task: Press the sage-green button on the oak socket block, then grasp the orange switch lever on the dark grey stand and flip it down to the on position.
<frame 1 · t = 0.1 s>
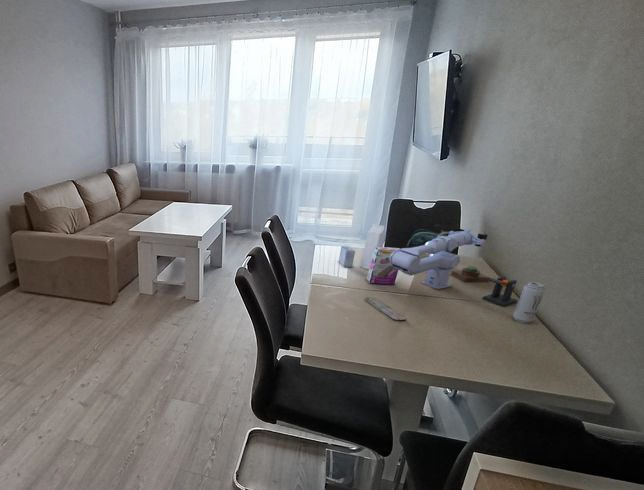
hand: (477, 234, 188), 22 cm above the table, tool horizontal, fingers open, 7 cm apart
energy drink can: (521, 320, 158), on the table
thin flat strip: (383, 309, 164), on the table
milk: (368, 268, 207), on the table
socket button: (471, 269, 195), point 4 cm above the table, slide at 0.1 cm
dark green curved piece: (424, 261, 218), on the table
medicine box: (345, 265, 210), on the table
candy bar box: (380, 283, 189), on the table
socket block: (469, 278, 197), on the table
dark grey stand: (499, 300, 174), on the table
kettle switch: (501, 282, 169), point 9 cm above the table, hinge at 15.0°
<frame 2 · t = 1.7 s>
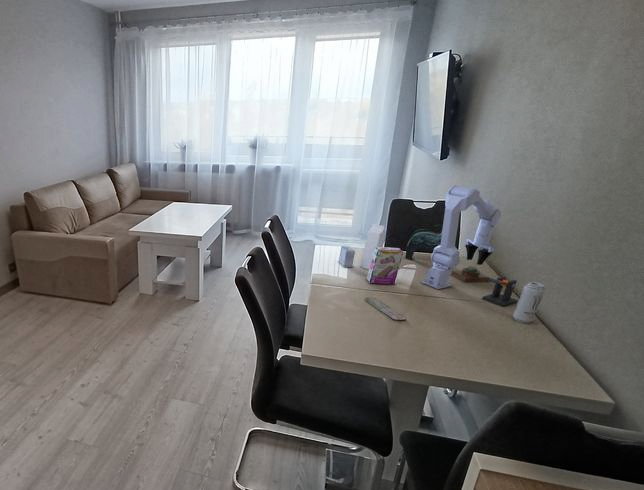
hand: (474, 262, 194), 8 cm above the table, tool pointing down, fingers open, 6 cm apart
nothing on the table moved.
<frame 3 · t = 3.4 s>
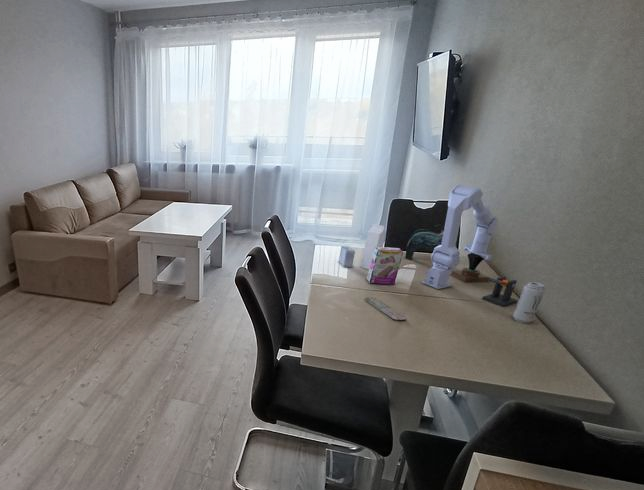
hand: (471, 269, 195), 4 cm above the table, tool pointing down, fingers closed, pressing on socket button
socket button: (471, 271, 196), point 4 cm above the table, slide at -0.7 cm, touching gripper
everything else where it was.
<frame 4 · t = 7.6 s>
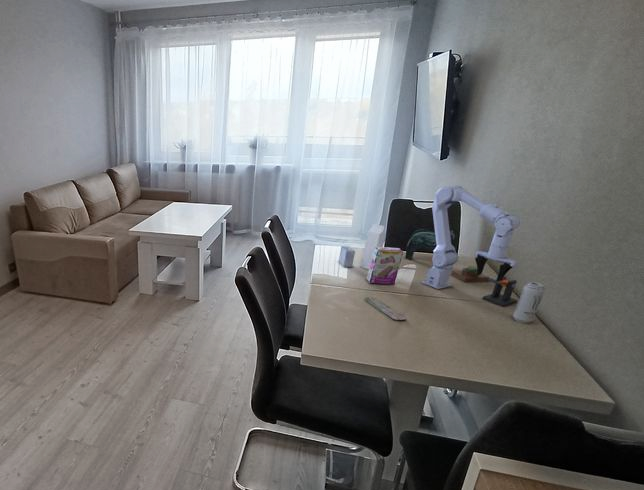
hand: (488, 277, 170), 10 cm above the table, tool pointing down, fingers open, 7 cm apart
socket button: (471, 269, 195), point 4 cm above the table, slide at 0.1 cm
kettle switch: (501, 282, 169), point 9 cm above the table, hinge at 14.0°, touching gripper
everything else where it was.
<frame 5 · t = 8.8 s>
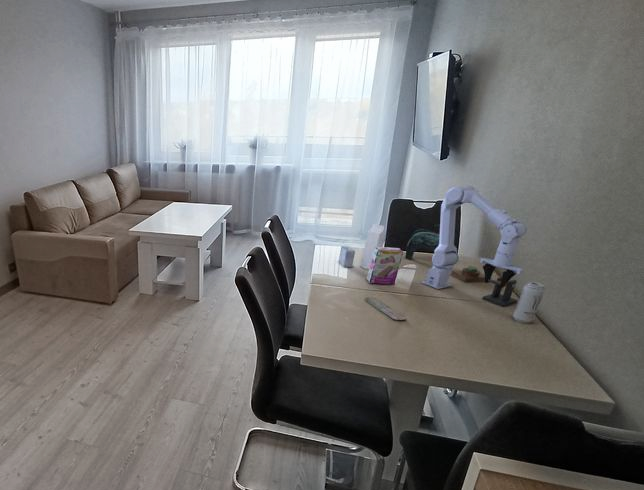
hand: (494, 284, 167), 9 cm above the table, tool pointing down, fingers closed on kettle switch, 5 cm apart
kettle switch: (500, 282, 169), point 9 cm above the table, hinge at 12.1°, touching gripper
everything else where it was.
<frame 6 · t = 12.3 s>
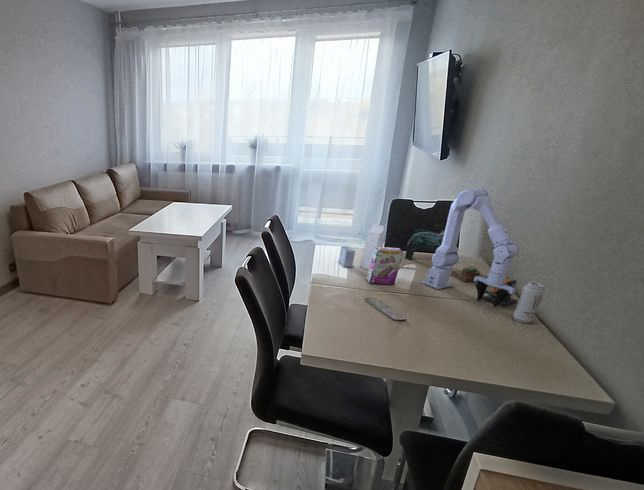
hand: (487, 302, 170), 1 cm above the table, tool pointing down, fingers open, 6 cm apart
kettle switch: (499, 287, 170), point 7 cm above the table, hinge at -20.9°
everything else where it was.
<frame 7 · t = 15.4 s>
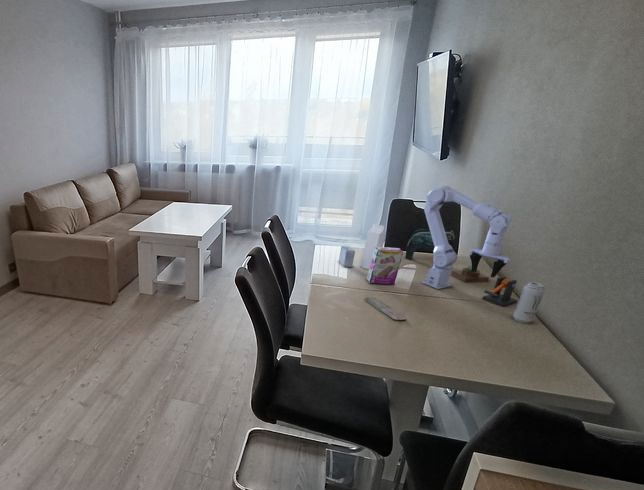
hand: (483, 273, 173), 10 cm above the table, tool pointing down, fingers open, 7 cm apart
nothing on the table moved.
at the end: socket button pushed in 1.2 cm at the most during the clip, back to where it started at the end; socket button slide at 0.1 cm; kettle switch at -21° (first picture: +15°) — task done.
